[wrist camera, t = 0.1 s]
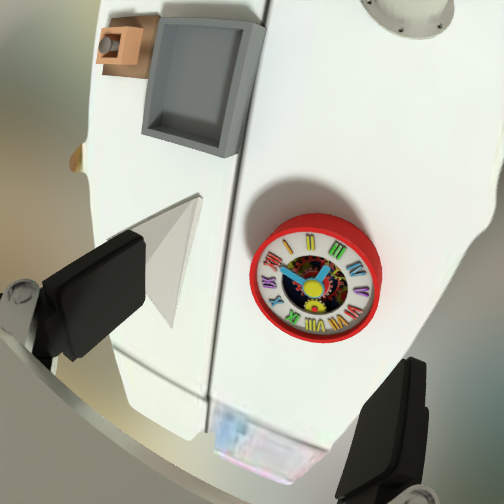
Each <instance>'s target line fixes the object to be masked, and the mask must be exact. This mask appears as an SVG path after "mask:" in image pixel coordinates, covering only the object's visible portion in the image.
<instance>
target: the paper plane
mask: <svg viewBox="0 0 504 504" xmlns="http://www.w3.org/2000/svg"><path fill="white" fill-rule="evenodd" d="M202 201H203V198H200V197H197V198H194V199H192V200H190V201H188V202H186V203H184V204H181V205H179V206H177V207H175V208H173V209H171V210H169V211H167V212H165V213H163V214H161V215H159V216H157V217H155V218H153V219H151V220H149V221H146V222H144V223H143V224H141V225H139V226H137V227H135V228H133V229H131V230H132V231H134V232H136V233H138V234H140V235H142V236H143V238H144V241H145V243H146V271H145V293H146V294H147V295H148V297H149V298H150V300H151V301H152V302H153V304H154V305H155V307H156V308H157V309H158V311H159V312H160V314H161V315H162V316H163V318H164V319H165V320H166V322H167V323H168V324H169V326H170V327H171V328H172V327H173V323H174V318H175V314H176V309H177V305H178V300H179V296H180V292H181V287H182V283H183V279H184V275H185V271H186V267H187V263H188V258H189V255H190V251H191V247H192V243H193V239H194V235H195V231H196V227H197V224H198V220H199V216H200V212H201V209H202Z"/></svg>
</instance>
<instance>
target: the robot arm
mask: <svg viewBox="0 0 504 504" xmlns="http://www.w3.org/2000/svg"><path fill="white" fill-rule="evenodd" d="M368 2H371V4H368ZM363 3H364V5H365V8H366V10H367V11H368V13H369V14H370V16H371V17H372V18H373V19H374V20H375V21H376V22H377V23H378V24H379V25H380V26H382V27H383V28H384V29H386V30H387V31H389V32H391V33H393V34H395V35H398V36H400V37H404V38H408V39H417V40H421V39H429V38H432V37H435V36H437V35H439V34H441V33H442V32H443V31H444V30H446V29H447V27H448V26H449V25H450V23H451V21H452V19H453V16H454V1H453V0H363ZM437 26H440V27H441V28H440V29H439V28H438V27H437ZM399 30H402V31H403V32H399ZM145 271H146V243H145V241H144V238H143V236H142V235H140V234H138V233H136V232H134V231H132V230H126V231H124V232H123V233H121V234H119V235H117V236H116V237H114V238H112V239H110V240H109V241H107V242H105V243H104V244H102V245H100V246H99V247H97V248H95V249H94V250H92V251H90V252H89V253H87V254H85V255H84V256H82V257H80V258H79V259H77V260H76V261H74V262H72V263H71V264H69V265H67V266H66V267H64V268H63V269H61V270H60V271H58V272H56V273H55V274H53V275H52V276H50V277H49V278H47V279H46V280H44V281H42V284H43V287H42V288H41V289H40V288H39V285H38V284H37V283H36V282H35V281H33V280H30V279H20V280H17V281H14V282H13V283H11V284H10V285H9V286H7V288H6V289H5V291H4V293H0V504H250V503H248V502H245V501H243V500H241V499H239V498H236V497H234V496H232V495H230V494H228V493H226V492H223V491H222V490H220V489H217V488H215V487H214V486H211V485H210V484H207V483H206V482H204V481H202V480H200V479H198V478H196V477H195V476H193V475H191V474H189V473H187V472H186V471H184V470H182V469H180V468H179V467H177V466H175V465H174V464H172V463H170V462H169V461H167V460H165V459H164V458H162V457H160V456H159V455H157V454H156V453H154V452H153V451H151V450H149V449H148V448H146V447H145V446H143V445H142V444H140V443H139V442H137V441H136V440H134V439H133V438H132V437H130V436H129V435H127V434H126V433H124V432H123V431H122V430H120V429H119V428H117V427H116V426H115V425H114V424H112V423H111V422H110V421H108V420H107V419H106V418H104V417H103V416H102V415H100V414H99V413H98V412H97V411H95V410H94V409H93V408H92V407H90V406H89V405H88V404H87V403H85V402H84V401H83V400H82V399H81V398H79V397H78V396H77V395H76V394H75V393H73V392H72V391H71V390H70V389H69V388H68V387H67V386H66V385H65V384H63V383H62V382H61V381H60V380H59V379H58V378H57V377H56V368H57V361H58V355H59V354H60V353H61V352H63V354H64V355H65V356H66V357H67V358H68V359H70V360H71V361H72V362H73V361H74V360H76V359H77V358H81V357H83V356H84V355H86V354H87V353H88V352H89V351H90V350H91V349H92V348H93V347H95V346H96V345H97V344H98V343H99V342H100V341H101V340H102V339H104V338H105V337H106V336H107V335H108V334H110V333H111V332H112V331H113V330H114V329H115V328H116V327H118V326H119V325H120V324H121V323H122V322H123V321H125V320H126V319H127V318H128V317H129V316H130V315H131V314H133V313H134V312H135V311H136V310H137V309H138V308H140V307H141V306H142V305H143V303H144V301H145ZM425 395H426V363H425V362H423V361H420V360H418V359H415V358H413V357H409V358H408V359H407V360H406V359H402V360H401V361H400V362H399V363H398V364H397V366H396V367H395V368H394V369H393V371H392V372H391V373H390V374H389V376H388V377H387V378H386V379H385V381H384V382H383V383H382V384H381V385H380V386H379V388H378V389H377V390H376V391H375V392H374V393H373V395H372V396H371V397H370V398H369V399H368V400H367V401H366V403H365V404H364V405H363V407H362V409H361V411H360V415H359V419H358V423H357V426H356V430H355V434H354V437H353V441H352V444H351V447H350V451H349V454H348V458H347V461H346V464H345V467H344V470H343V474H342V476H341V479H340V482H339V485H338V488H337V491H336V494H335V498H336V499H338V502H337V504H439V499H438V497H437V495H436V493H435V492H434V491H433V490H432V489H431V488H430V487H428V486H426V485H421V481H422V475H423V468H424V461H425V453H426V443H427V433H428V421H429V410H428V408H427V407H425Z"/></svg>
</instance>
